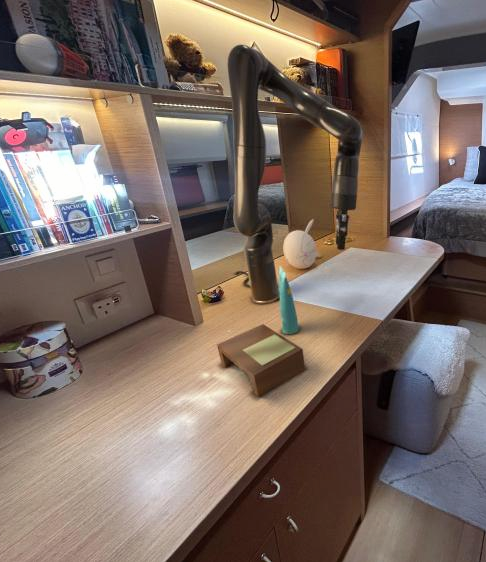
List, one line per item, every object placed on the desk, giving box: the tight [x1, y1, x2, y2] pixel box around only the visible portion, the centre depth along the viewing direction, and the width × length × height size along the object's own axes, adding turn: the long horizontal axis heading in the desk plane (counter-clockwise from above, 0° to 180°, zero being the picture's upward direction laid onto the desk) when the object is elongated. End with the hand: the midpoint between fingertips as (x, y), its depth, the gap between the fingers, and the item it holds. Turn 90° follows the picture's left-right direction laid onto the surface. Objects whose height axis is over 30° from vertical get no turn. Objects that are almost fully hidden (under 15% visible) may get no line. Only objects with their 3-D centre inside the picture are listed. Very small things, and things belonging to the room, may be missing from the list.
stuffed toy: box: [282, 218, 323, 270], centre depth 147 cm, size 19×14×25 cm
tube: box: [278, 266, 300, 335], centre depth 97 cm, size 7×5×19 cm, turn 29°
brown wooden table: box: [216, 323, 306, 398], centre depth 84 cm, size 18×13×6 cm
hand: (339, 246), depth 104 cm, fingers open, 8 cm apart
